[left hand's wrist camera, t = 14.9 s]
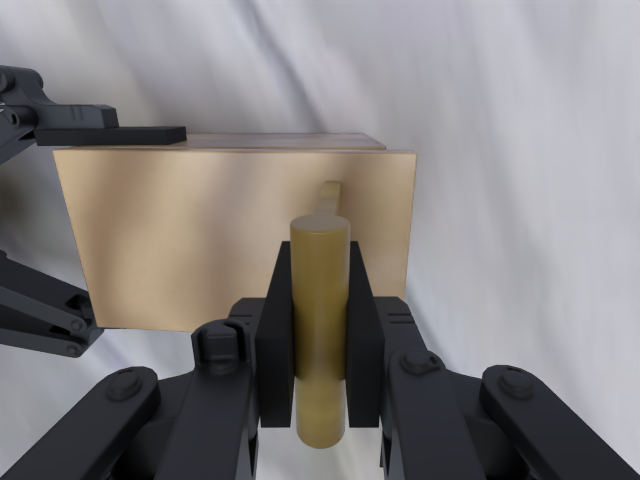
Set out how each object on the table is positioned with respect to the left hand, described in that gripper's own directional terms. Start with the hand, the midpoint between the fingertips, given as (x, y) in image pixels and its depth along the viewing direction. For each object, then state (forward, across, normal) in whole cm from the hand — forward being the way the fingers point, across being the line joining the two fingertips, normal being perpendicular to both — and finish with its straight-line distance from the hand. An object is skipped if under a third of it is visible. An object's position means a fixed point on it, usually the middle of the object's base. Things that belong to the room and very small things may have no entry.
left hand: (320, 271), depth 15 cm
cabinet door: (+3, +4, 0) cm, 5 cm away
